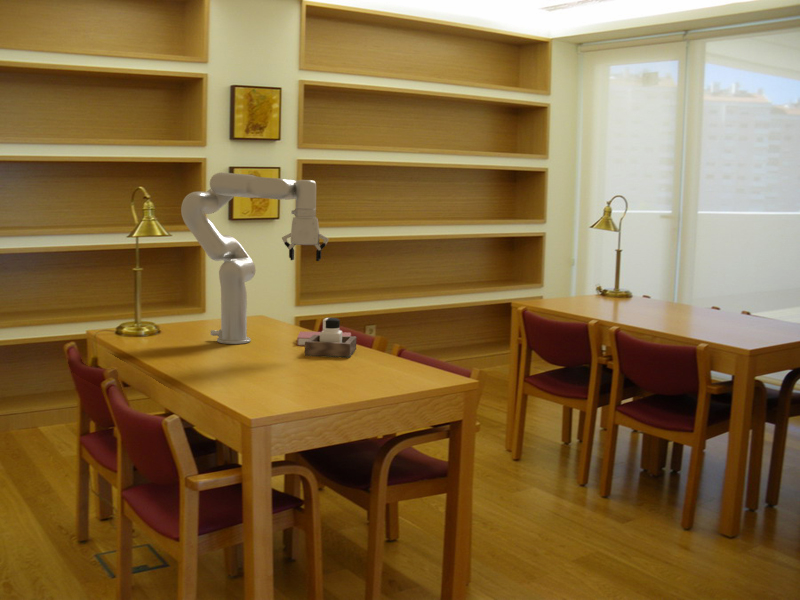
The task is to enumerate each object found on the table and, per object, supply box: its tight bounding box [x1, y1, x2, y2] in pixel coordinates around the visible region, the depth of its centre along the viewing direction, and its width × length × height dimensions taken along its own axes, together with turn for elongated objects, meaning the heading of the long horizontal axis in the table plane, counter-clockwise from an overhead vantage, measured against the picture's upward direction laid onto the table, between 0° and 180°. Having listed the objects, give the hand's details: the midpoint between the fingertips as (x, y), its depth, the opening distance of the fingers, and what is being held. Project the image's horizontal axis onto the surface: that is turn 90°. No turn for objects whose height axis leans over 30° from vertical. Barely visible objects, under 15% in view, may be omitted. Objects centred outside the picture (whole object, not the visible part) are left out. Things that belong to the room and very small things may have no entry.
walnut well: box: [304, 335, 357, 359], centre depth 302 cm, size 16×16×5 cm
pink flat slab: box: [296, 331, 352, 347], centre depth 322 cm, size 20×14×3 cm
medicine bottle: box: [320, 317, 343, 343], centre depth 301 cm, size 7×7×12 cm
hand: (305, 260), depth 309 cm, fingers open, 9 cm apart
